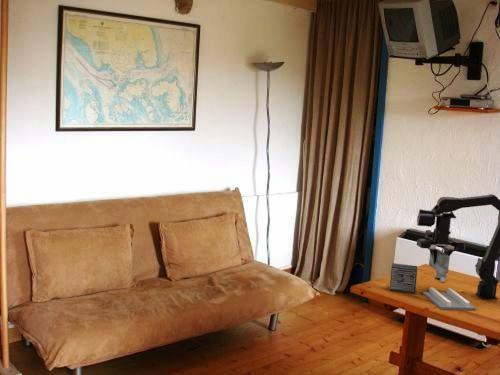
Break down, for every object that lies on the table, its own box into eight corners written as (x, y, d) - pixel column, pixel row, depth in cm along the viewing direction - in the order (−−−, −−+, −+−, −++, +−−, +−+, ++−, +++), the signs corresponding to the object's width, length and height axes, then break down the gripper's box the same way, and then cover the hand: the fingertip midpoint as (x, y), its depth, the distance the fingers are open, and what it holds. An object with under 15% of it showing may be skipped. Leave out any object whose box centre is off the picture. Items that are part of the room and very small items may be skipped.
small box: (415, 289, 258) (418, 265, 256) (415, 294, 252) (417, 269, 250) (389, 286, 261) (392, 262, 259) (389, 290, 254) (391, 266, 253)
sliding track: (455, 295, 253) (456, 288, 253) (475, 310, 236) (476, 302, 235) (422, 294, 252) (423, 287, 251) (440, 309, 234) (441, 301, 234)
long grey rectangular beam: (436, 265, 261) (438, 249, 260) (447, 273, 249) (449, 256, 248) (428, 264, 261) (430, 248, 260) (439, 273, 249) (441, 256, 248)
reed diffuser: (432, 275, 280) (436, 233, 277) (447, 276, 280) (451, 234, 278) (439, 282, 270) (443, 238, 267) (454, 283, 270) (459, 239, 267)
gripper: (456, 224, 261) (452, 259, 263) (414, 222, 259) (410, 258, 262) (467, 230, 250) (463, 267, 252) (423, 228, 248) (419, 265, 251)
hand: (438, 264), depth 255 cm, fingers closed on long grey rectangular beam, 3 cm apart
